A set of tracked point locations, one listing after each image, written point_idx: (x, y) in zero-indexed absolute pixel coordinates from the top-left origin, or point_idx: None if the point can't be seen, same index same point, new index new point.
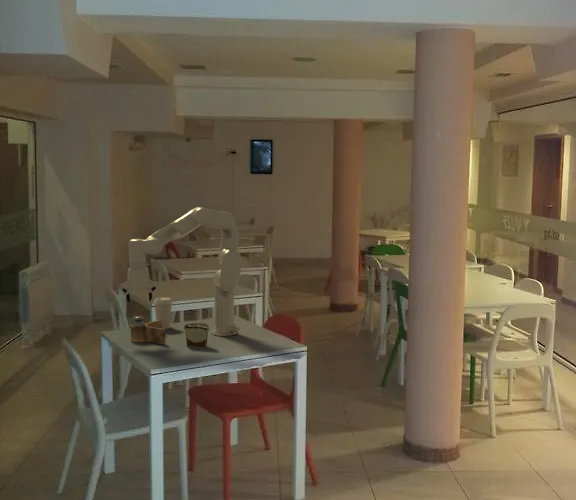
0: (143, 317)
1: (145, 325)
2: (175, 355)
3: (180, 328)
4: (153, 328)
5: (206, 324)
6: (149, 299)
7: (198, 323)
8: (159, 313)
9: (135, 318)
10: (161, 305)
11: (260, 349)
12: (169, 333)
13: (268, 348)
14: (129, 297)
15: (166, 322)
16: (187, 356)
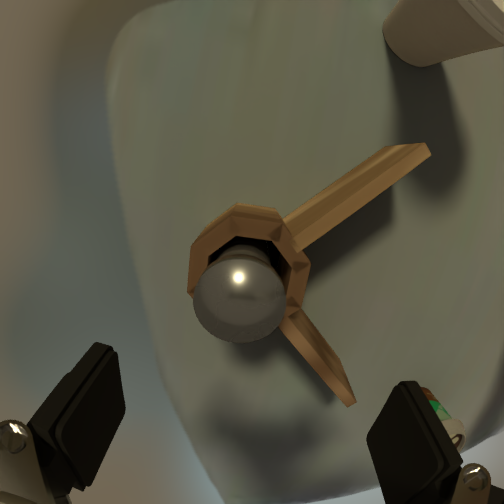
0: (281, 317)
1: (288, 295)
2: (311, 464)
3: (470, 95)
4: (313, 367)
5: (463, 444)
6: (373, 452)
7: (458, 433)
8: (435, 28)
9: (211, 333)
10: (478, 26)
11: (481, 430)
12: (419, 165)
13: (493, 423)
14: (101, 457)
15: (438, 61)
16: (334, 471)
